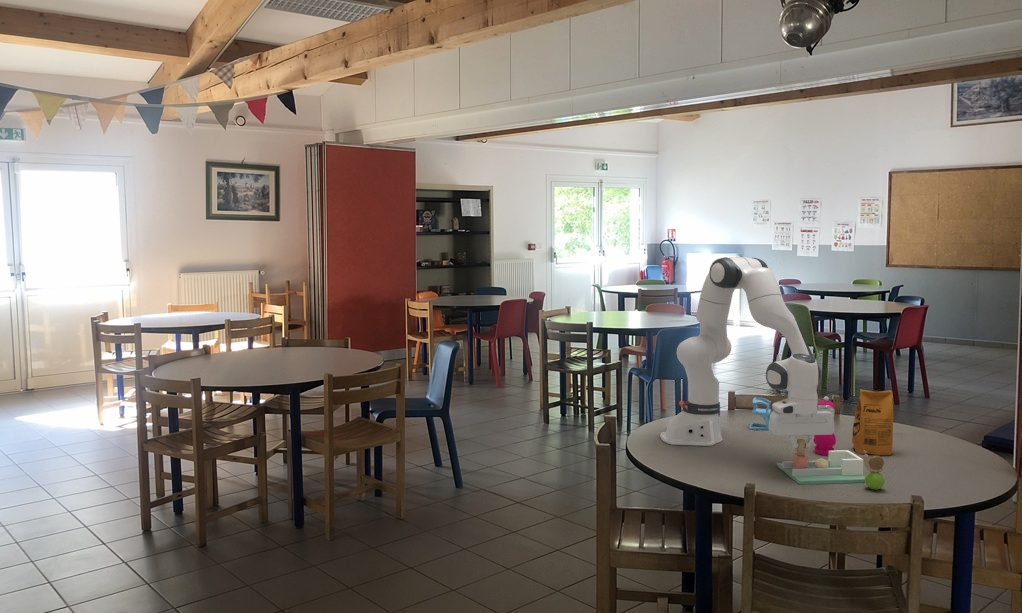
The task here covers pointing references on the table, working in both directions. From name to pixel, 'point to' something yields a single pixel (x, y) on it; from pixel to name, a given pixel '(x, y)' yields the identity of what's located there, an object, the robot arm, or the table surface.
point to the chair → (761, 413)
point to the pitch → (828, 470)
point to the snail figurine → (874, 472)
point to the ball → (821, 463)
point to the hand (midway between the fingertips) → (800, 448)
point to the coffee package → (873, 423)
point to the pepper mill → (824, 441)
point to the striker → (800, 456)
